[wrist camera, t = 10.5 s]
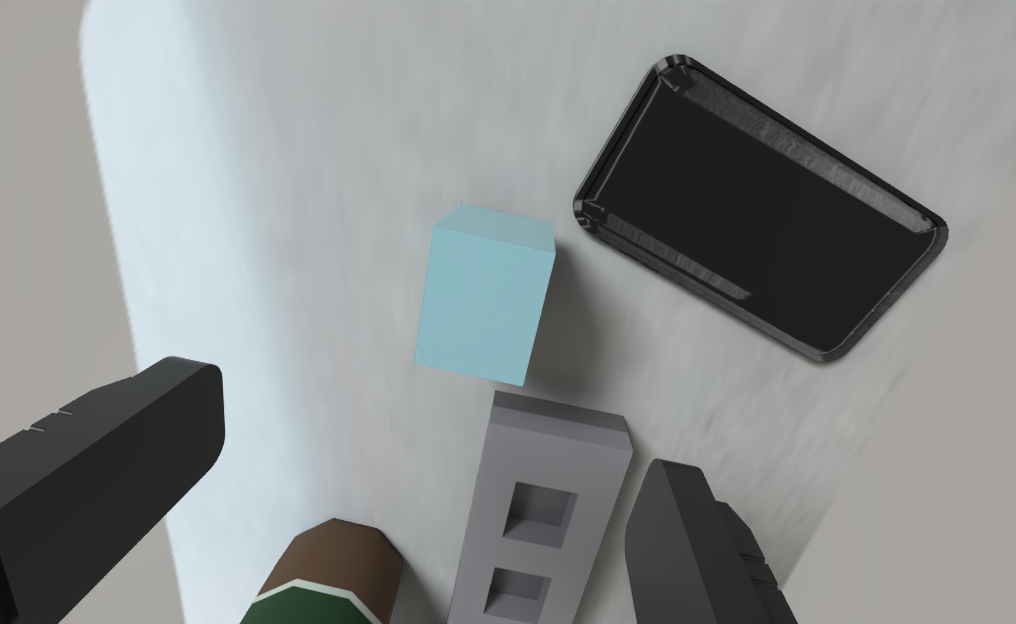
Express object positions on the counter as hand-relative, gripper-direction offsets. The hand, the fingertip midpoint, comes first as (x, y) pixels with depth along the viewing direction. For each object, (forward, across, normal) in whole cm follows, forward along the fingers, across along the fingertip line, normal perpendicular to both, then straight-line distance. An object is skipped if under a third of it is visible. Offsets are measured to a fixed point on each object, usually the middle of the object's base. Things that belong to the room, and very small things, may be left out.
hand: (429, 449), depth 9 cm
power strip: (+14, -5, +18) cm, 24 cm away
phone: (+15, -11, -4) cm, 19 cm away
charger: (+15, 0, 0) cm, 15 cm away
